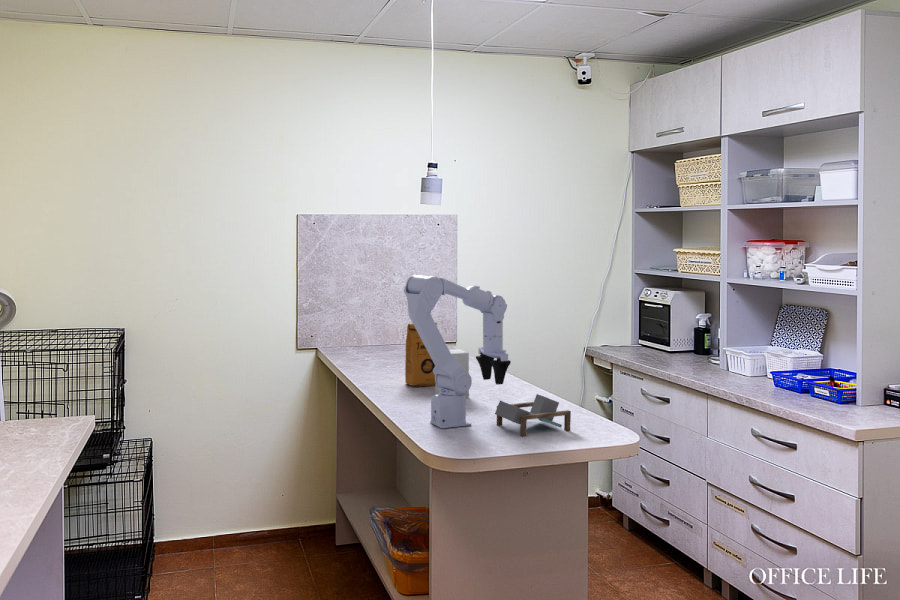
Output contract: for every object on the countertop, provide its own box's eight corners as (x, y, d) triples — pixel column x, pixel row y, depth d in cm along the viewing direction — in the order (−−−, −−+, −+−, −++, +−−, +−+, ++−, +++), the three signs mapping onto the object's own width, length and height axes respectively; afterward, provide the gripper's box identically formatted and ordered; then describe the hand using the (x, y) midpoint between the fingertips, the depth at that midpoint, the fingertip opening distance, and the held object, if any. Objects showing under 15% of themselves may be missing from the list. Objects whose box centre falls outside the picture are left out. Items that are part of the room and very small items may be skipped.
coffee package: (444, 386, 277) (444, 324, 275) (409, 388, 273) (409, 325, 271) (436, 381, 286) (436, 320, 284) (403, 383, 283) (403, 321, 281)
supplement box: (460, 392, 267) (460, 348, 266) (469, 398, 259) (469, 352, 257) (434, 394, 264) (434, 349, 263) (442, 399, 256) (443, 353, 254)
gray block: (538, 415, 218) (545, 397, 218) (529, 412, 222) (536, 393, 222) (552, 421, 220) (559, 402, 221) (543, 417, 224) (550, 399, 225)
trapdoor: (513, 422, 211) (519, 408, 211) (493, 413, 221) (499, 400, 221) (557, 438, 217) (562, 424, 218) (535, 429, 227) (540, 416, 228)
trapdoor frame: (522, 436, 211) (522, 416, 210) (496, 424, 223) (496, 405, 223) (570, 430, 217) (570, 411, 217) (542, 419, 230) (542, 400, 229)
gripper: (517, 338, 226) (517, 384, 227) (492, 331, 239) (493, 376, 240) (495, 339, 223) (495, 387, 224) (472, 333, 236) (472, 378, 237)
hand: (493, 381), depth 232 cm, fingers open, 7 cm apart
